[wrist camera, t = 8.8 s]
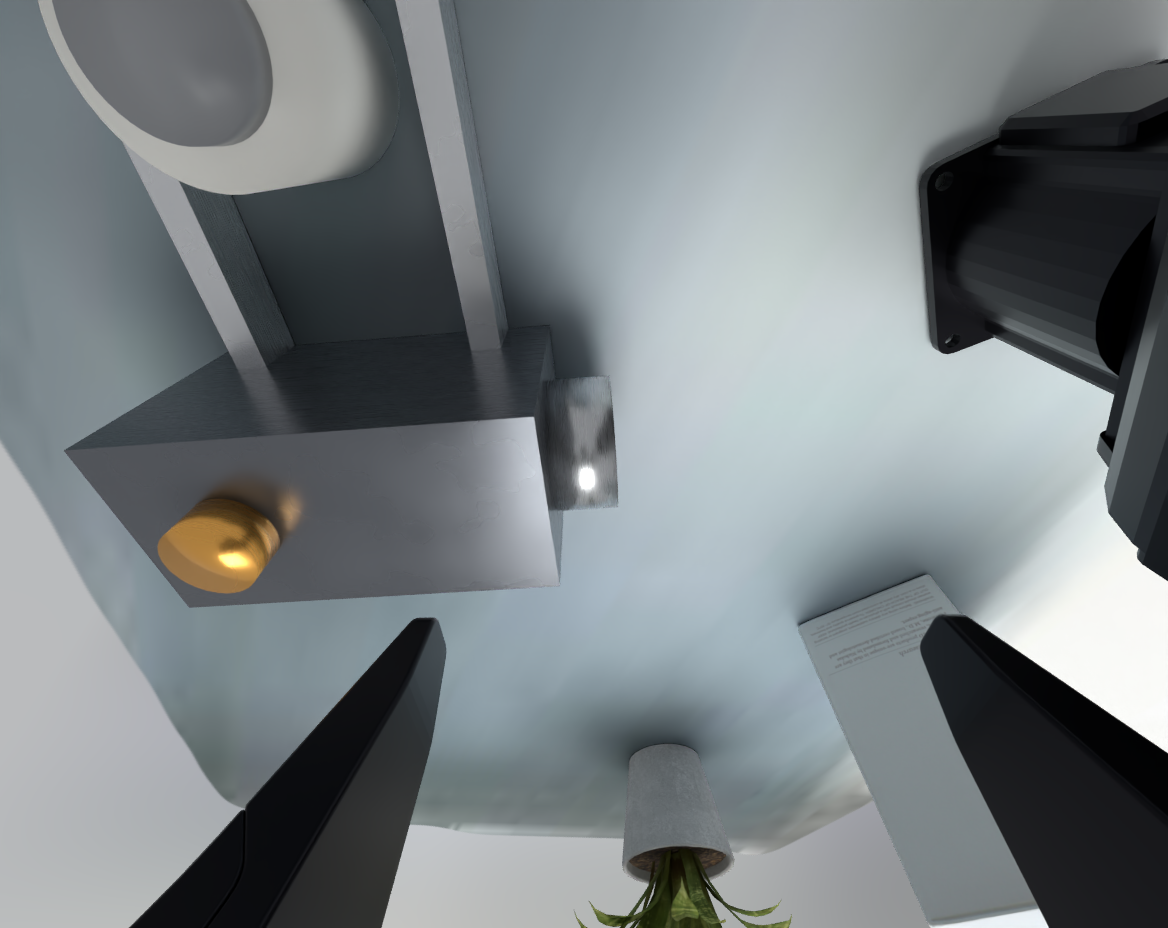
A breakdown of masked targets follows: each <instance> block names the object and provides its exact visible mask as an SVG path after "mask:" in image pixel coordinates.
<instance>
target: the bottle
mask: <svg viewBox="0 0 1168 928" xmlns="http://www.w3.org/2000/svg"><path fill="white" fill-rule="evenodd" d="M38 3H39V7H40V11H41V14H42V17H43V20H44V23H45V25H46V28H47V31H48V34H49V36H50V39H51V41H52V43H53V45H54V47H55V49H56V51H57V54H58V56H59V58H60V60H61V62H62V63H63V65H64V67H65V69H66V70H67V72H68V74H69V76H70V77H71V79H72V81H73V82H74V84H75V85H76V87H77V88H78V90H79V91H80V93H81V94H82V96H83V97H84V99H85V100H86V101H87V103H88V104H89V105H90V106H91V108H92V109H93V110H94V111H95V113H96V114H97V115H98V116H99V118H100V119H101V120H102V121H103V122H104V123H105V124H106V125H107V126H108V127H109V129H110V130H111V131H112V132H113V133H114V134H115V135H116V136H117V137H118V138H119V139H120V140H122V141H123V142H124V143H125V144H126V145H127V146H128V147H129V148H130V149H131V150H133V151H134V152H135V153H136V154H138V155H139V156H140V157H142V158H143V159H144V160H145V161H147V162H148V163H150V164H151V165H153V166H154V167H156V168H157V169H159V170H160V171H162V172H163V173H165V174H167V175H169V176H171V177H173V178H175V179H177V180H179V181H181V182H183V183H185V184H188V185H190V186H193V187H196V188H198V189H202V190H206V191H209V192H213V193H220V194H227V195H245V194H251V193H257V192H264V191H270V190H276V189H282V188H288V187H295V186H301V185H307V184H313V183H320V182H326V181H332V180H338V179H344V178H350V177H353V176H356V175H359V174H361V173H363V172H365V171H367V170H368V169H369V168H371V167H372V166H373V165H375V164H376V163H377V162H378V161H379V159H380V158H381V157H382V156H383V155H384V153H385V152H386V150H387V149H388V147H389V145H390V143H391V140H392V138H393V136H394V133H395V129H396V126H397V121H398V114H399V84H398V78H397V72H396V68H395V64H394V60H393V57H392V53H391V51H390V48H389V45H388V43H387V40H386V38H385V36H384V34H383V32H382V30H381V28H380V26H379V24H378V22H377V21H376V19H375V17H374V16H373V14H372V12H371V11H370V9H369V8H368V7H367V5H366V4H365V3H364V1H363V0H38Z"/></svg>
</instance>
